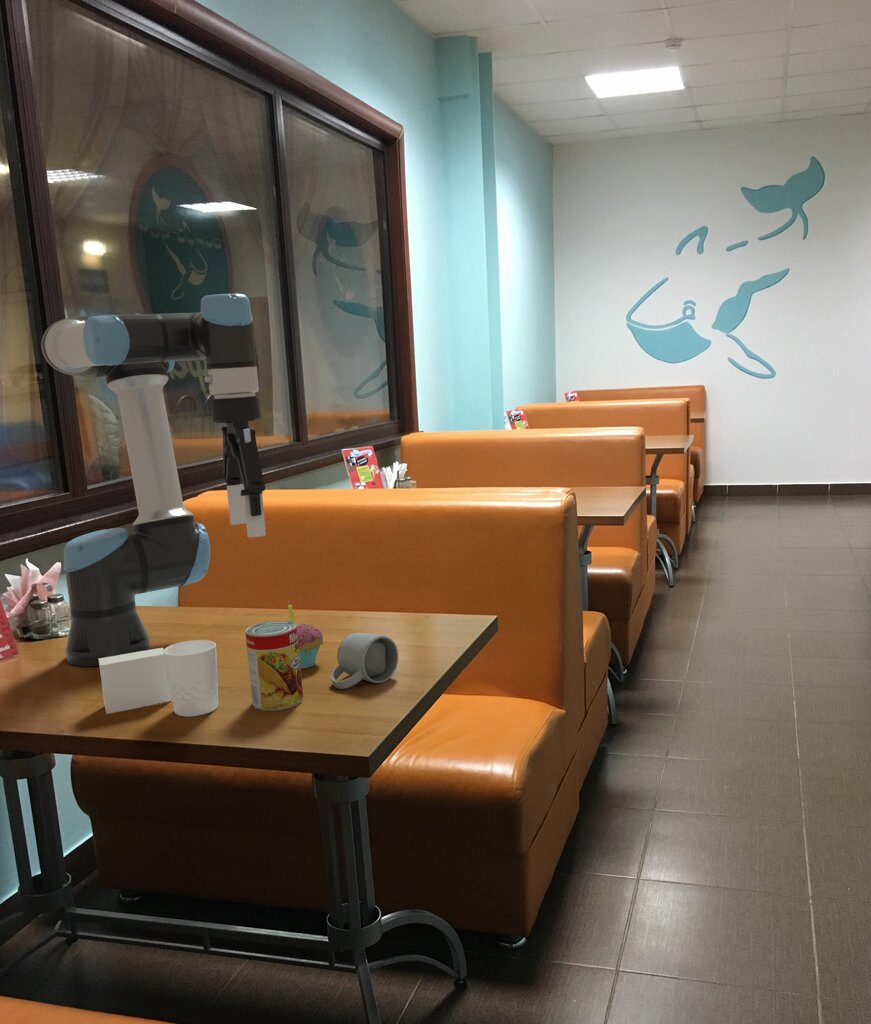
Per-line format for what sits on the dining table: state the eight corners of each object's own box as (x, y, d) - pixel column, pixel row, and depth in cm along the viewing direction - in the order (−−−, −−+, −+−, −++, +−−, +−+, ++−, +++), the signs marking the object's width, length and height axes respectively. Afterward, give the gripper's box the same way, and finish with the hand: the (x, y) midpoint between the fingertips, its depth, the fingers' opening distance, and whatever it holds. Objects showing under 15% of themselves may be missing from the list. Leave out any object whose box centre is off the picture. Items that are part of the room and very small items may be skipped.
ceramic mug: (369, 666, 163) (365, 623, 161) (401, 675, 157) (397, 631, 156) (320, 685, 155) (315, 640, 154) (352, 695, 150) (347, 649, 148)
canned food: (311, 701, 148) (304, 627, 146) (264, 714, 143) (256, 638, 141) (290, 689, 154) (284, 617, 152) (245, 701, 150) (237, 627, 148)
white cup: (201, 696, 153) (195, 637, 152) (232, 705, 148) (226, 644, 147) (160, 712, 147) (152, 650, 146) (191, 722, 142) (183, 658, 141)
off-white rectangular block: (104, 706, 152) (98, 658, 151) (168, 694, 156) (162, 647, 155) (106, 714, 148) (100, 665, 147) (171, 701, 152) (166, 653, 151)
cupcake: (310, 674, 161) (304, 605, 159) (267, 671, 164) (260, 604, 162) (333, 658, 169) (327, 592, 167) (291, 655, 172) (285, 591, 170)
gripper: (197, 396, 157) (210, 521, 161) (225, 399, 135) (239, 545, 138) (242, 392, 160) (254, 516, 164) (277, 395, 137) (290, 538, 141)
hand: (247, 530), depth 151 cm, fingers open, 13 cm apart
